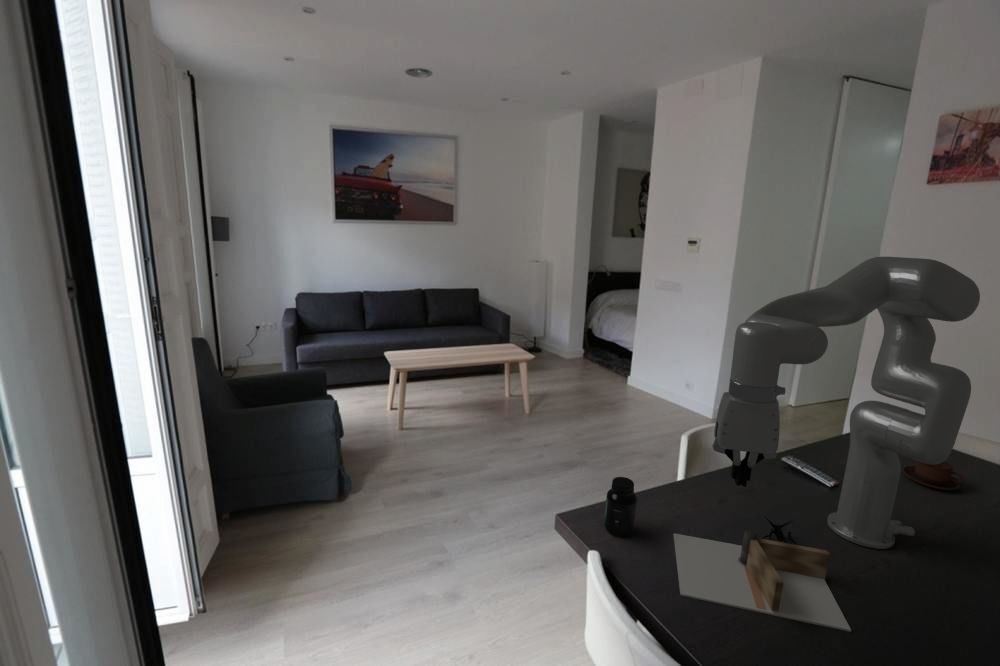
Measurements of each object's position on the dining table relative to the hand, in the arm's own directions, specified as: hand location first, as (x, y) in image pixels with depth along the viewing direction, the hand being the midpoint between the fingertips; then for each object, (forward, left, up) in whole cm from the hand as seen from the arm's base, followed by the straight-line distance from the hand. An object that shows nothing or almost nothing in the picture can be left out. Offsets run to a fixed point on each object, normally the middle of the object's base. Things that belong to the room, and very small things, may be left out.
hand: (739, 482), depth 89 cm
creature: (-13, -15, -22) cm, 30 cm away
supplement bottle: (+21, -10, -22) cm, 32 cm away
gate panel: (-6, +1, -21) cm, 22 cm away
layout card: (-5, -2, -22) cm, 22 cm away
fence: (-11, -6, -22) cm, 25 cm away
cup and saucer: (-63, -59, -22) cm, 89 cm away
